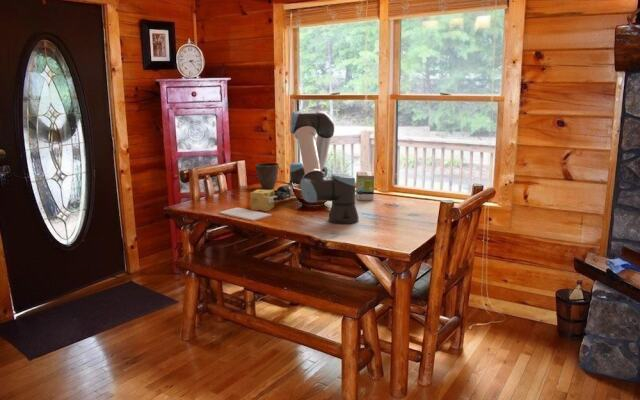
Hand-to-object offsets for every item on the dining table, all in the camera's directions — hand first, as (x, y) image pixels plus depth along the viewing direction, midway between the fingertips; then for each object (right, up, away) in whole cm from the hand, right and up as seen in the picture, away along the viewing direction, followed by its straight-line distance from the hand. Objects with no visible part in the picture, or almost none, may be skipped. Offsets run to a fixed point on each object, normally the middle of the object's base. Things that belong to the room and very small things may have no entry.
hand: (259, 198), depth 284 cm
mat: (-6, -8, -10) cm, 15 cm away
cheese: (+1, -6, +3) cm, 6 cm away
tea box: (+60, +1, +28) cm, 66 cm away
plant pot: (-1, +7, +55) cm, 56 cm away
